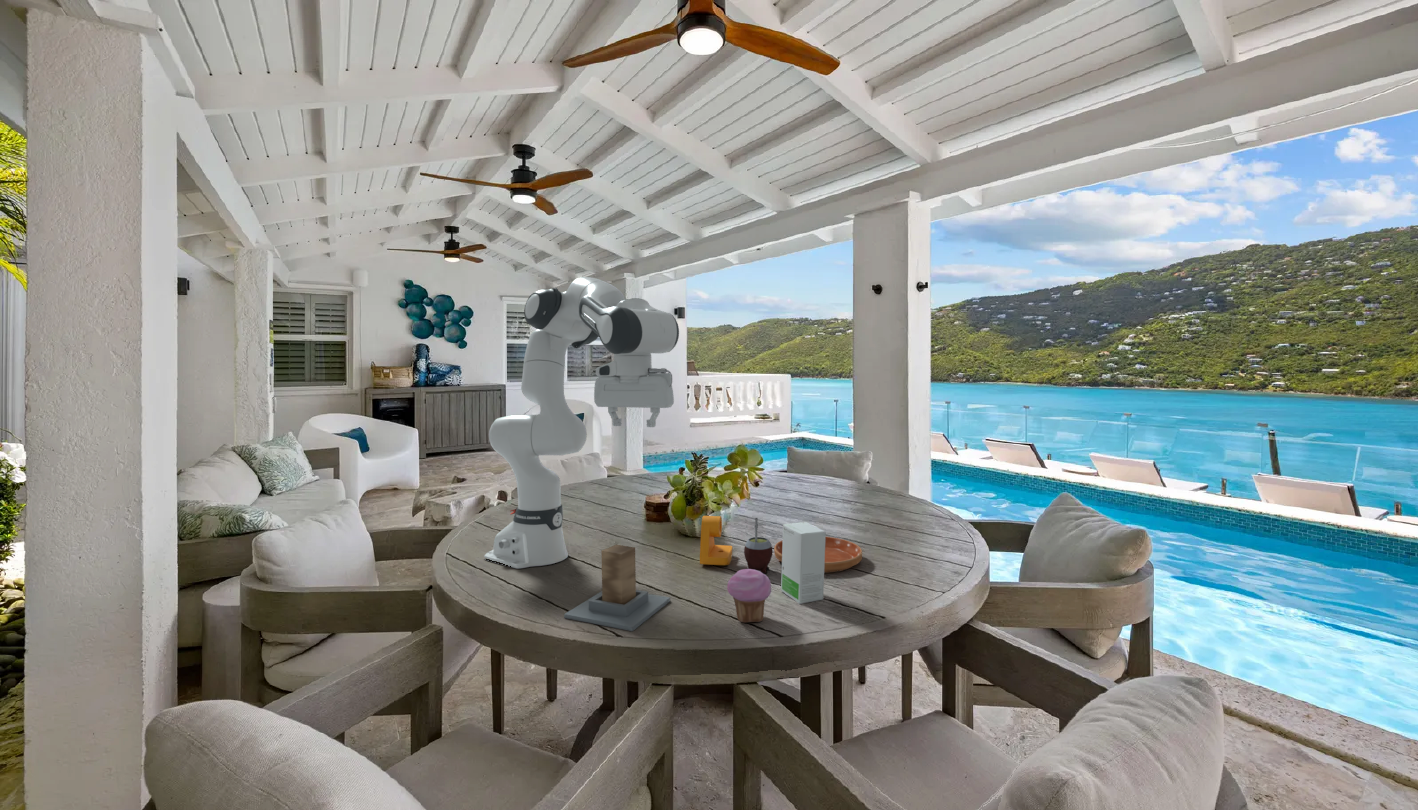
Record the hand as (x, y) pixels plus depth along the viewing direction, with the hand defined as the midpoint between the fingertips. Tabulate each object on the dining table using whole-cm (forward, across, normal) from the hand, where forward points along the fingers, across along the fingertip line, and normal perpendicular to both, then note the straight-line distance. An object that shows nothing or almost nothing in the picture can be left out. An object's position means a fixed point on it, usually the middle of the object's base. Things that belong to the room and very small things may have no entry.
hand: (633, 426), depth 137 cm
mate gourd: (+37, -26, -16) cm, 48 cm away
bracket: (+37, -13, -20) cm, 44 cm away
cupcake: (+37, -33, +11) cm, 51 cm away
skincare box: (+37, -40, -5) cm, 55 cm away
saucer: (+38, -38, -30) cm, 61 cm away
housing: (+37, -6, +17) cm, 41 cm away
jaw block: (+36, -6, +17) cm, 40 cm away
